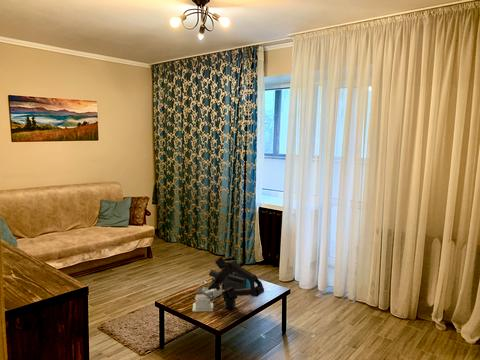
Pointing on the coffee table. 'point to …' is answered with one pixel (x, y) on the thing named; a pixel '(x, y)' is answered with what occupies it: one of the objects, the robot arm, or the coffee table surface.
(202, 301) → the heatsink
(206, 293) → the strap
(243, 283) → the game console
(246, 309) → the coffee table surface
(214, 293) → the toy car
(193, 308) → the board
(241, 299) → the coffee table surface
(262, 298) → the coffee table surface
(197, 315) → the coffee table surface
